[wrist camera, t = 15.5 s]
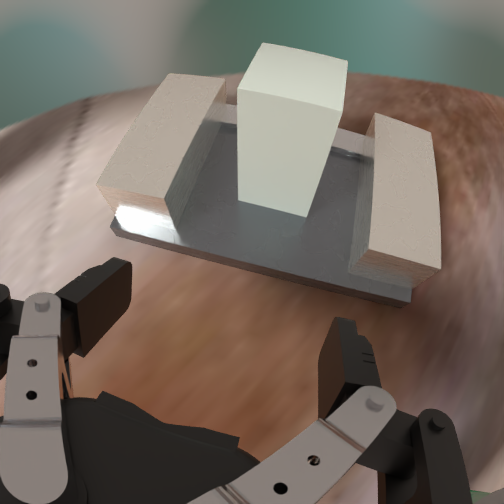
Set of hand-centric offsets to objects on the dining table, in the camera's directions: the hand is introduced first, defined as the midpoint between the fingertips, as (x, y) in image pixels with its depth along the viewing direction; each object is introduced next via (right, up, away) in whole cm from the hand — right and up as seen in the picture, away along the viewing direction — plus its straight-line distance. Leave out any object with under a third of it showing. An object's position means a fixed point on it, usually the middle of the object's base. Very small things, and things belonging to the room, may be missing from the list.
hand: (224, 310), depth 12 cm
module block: (+3, +7, +12) cm, 14 cm away
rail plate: (+3, +7, +13) cm, 15 cm away
